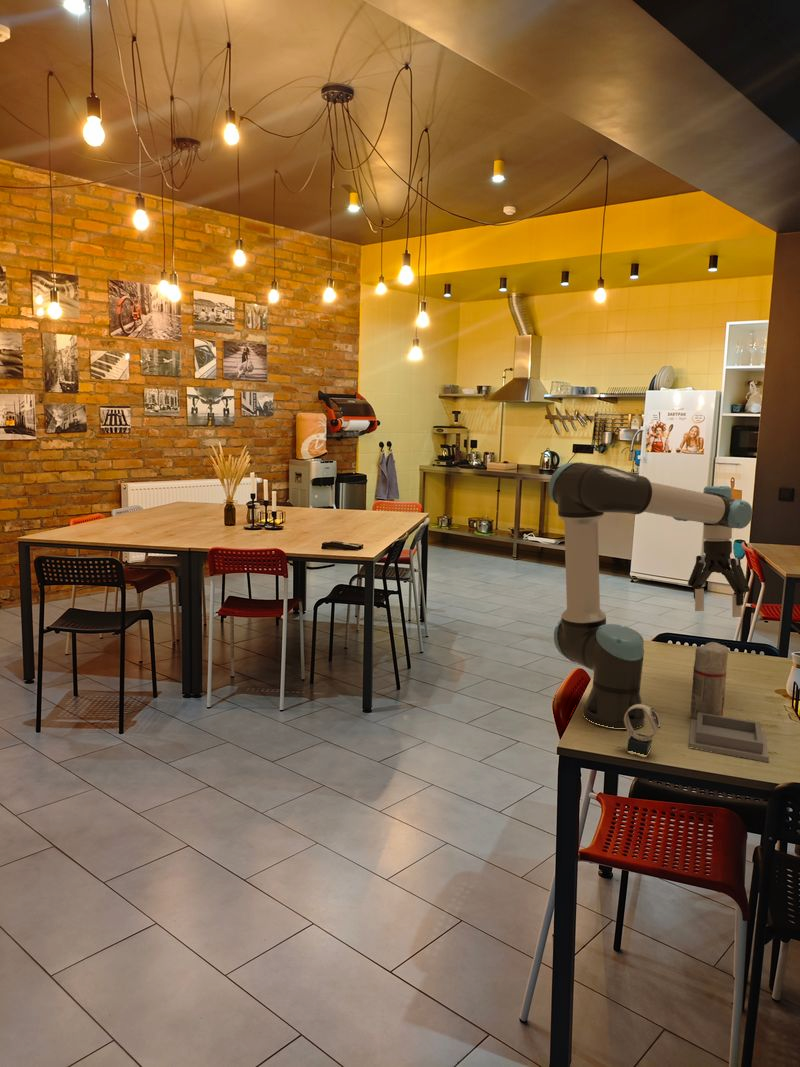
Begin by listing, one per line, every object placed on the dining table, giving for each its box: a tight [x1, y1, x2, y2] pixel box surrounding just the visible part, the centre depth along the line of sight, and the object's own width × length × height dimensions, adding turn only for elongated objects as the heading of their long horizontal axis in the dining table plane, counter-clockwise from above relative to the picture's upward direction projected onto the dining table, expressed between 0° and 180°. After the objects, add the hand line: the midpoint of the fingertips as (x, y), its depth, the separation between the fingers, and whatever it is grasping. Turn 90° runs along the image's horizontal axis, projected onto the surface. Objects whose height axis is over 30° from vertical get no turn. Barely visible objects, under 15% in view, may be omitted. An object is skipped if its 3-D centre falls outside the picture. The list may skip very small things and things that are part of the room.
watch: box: [624, 703, 661, 755], centre depth 180 cm, size 6×8×11 cm
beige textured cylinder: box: [689, 641, 730, 720], centre depth 202 cm, size 8×8×20 cm
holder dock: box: [688, 712, 770, 763], centre depth 188 cm, size 17×17×4 cm
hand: (717, 614), depth 225 cm, fingers open, 13 cm apart
